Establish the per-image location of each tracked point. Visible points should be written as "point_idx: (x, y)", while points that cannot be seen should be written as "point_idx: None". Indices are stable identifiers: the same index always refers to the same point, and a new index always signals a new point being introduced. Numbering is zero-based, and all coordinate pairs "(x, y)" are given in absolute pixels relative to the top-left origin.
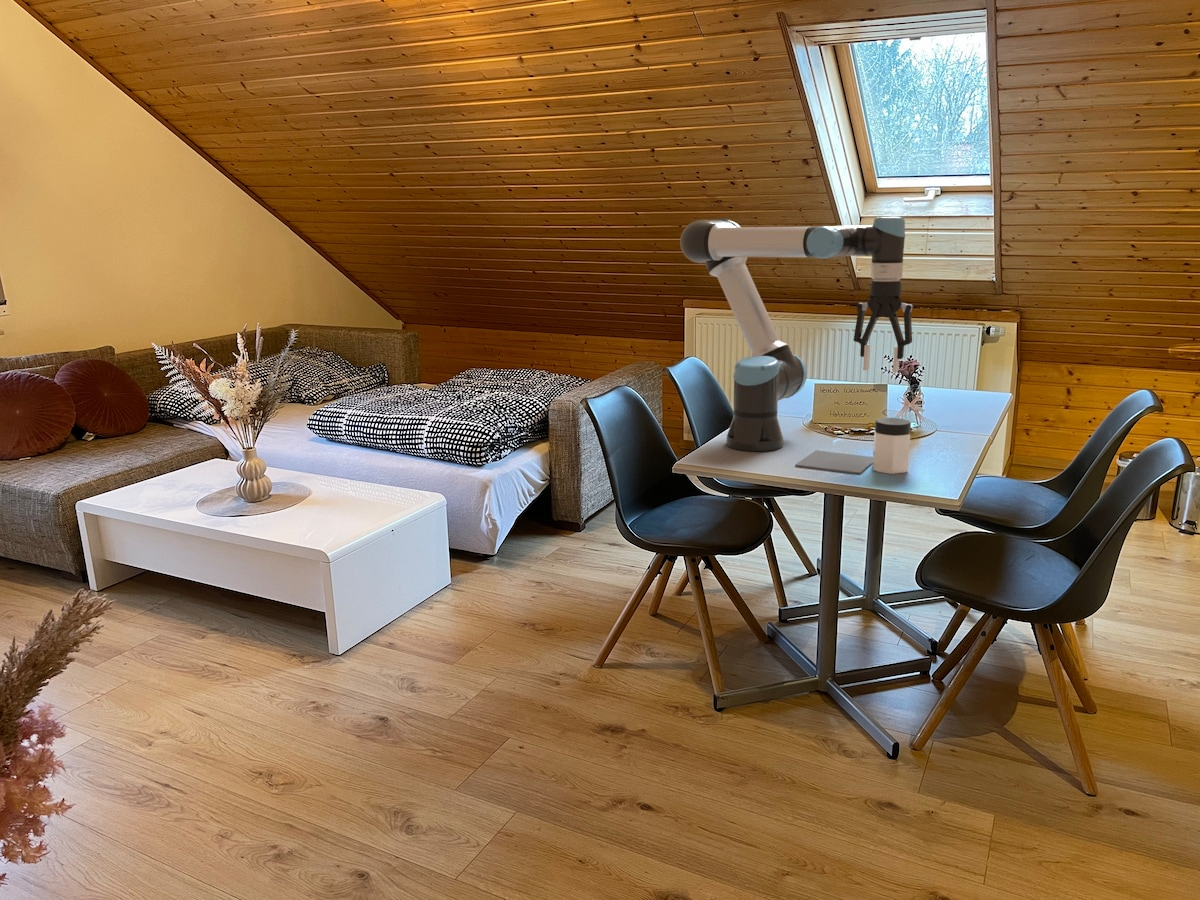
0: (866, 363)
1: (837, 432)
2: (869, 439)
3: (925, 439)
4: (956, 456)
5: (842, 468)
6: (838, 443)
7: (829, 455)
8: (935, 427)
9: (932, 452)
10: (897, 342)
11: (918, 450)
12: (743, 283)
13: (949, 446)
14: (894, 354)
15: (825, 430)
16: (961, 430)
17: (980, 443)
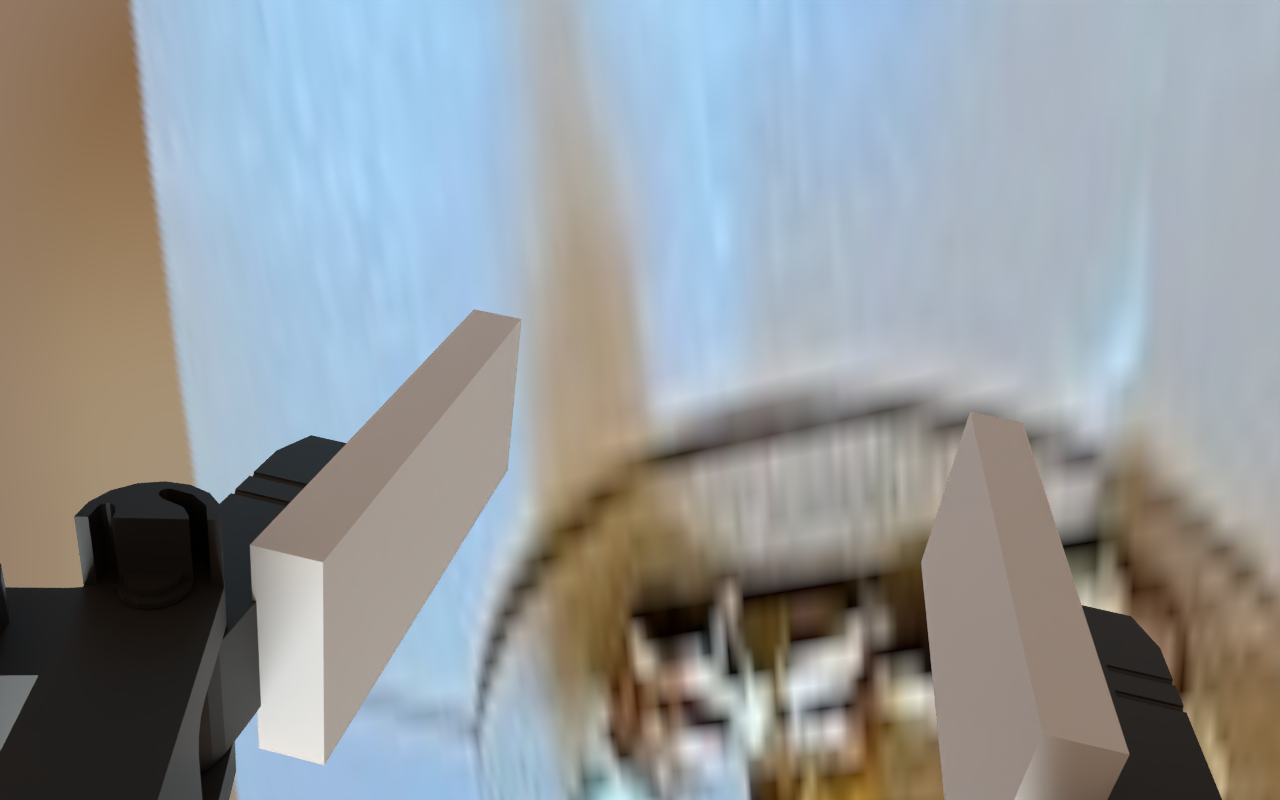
0: (984, 472)
1: (1092, 597)
2: (855, 445)
3: (502, 517)
4: (253, 112)
5: None
6: (1096, 271)
7: None
8: (489, 792)
9: (410, 180)
10: (196, 635)
11: (503, 212)
12: None
13: (342, 373)
14: (391, 457)
15: (1183, 638)
16: (351, 746)
17: (202, 485)
